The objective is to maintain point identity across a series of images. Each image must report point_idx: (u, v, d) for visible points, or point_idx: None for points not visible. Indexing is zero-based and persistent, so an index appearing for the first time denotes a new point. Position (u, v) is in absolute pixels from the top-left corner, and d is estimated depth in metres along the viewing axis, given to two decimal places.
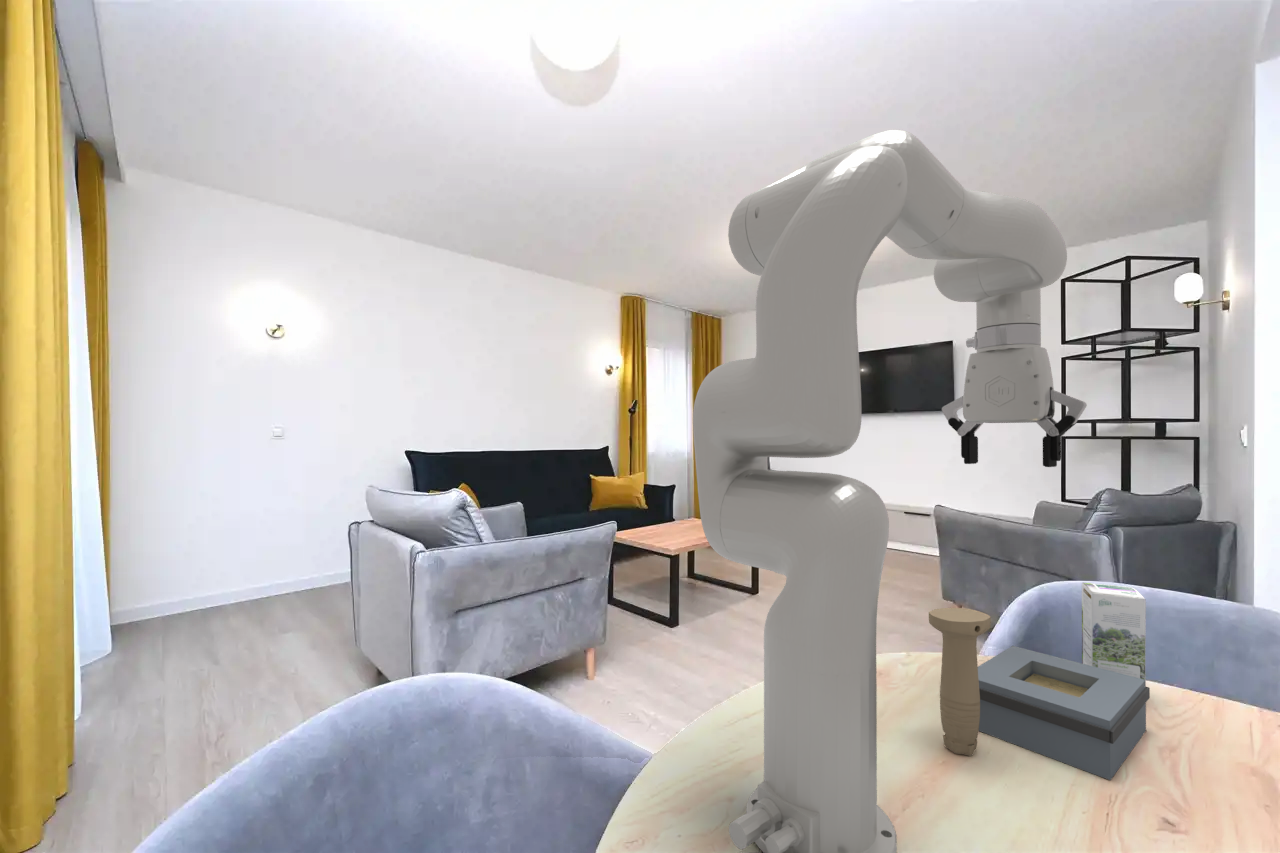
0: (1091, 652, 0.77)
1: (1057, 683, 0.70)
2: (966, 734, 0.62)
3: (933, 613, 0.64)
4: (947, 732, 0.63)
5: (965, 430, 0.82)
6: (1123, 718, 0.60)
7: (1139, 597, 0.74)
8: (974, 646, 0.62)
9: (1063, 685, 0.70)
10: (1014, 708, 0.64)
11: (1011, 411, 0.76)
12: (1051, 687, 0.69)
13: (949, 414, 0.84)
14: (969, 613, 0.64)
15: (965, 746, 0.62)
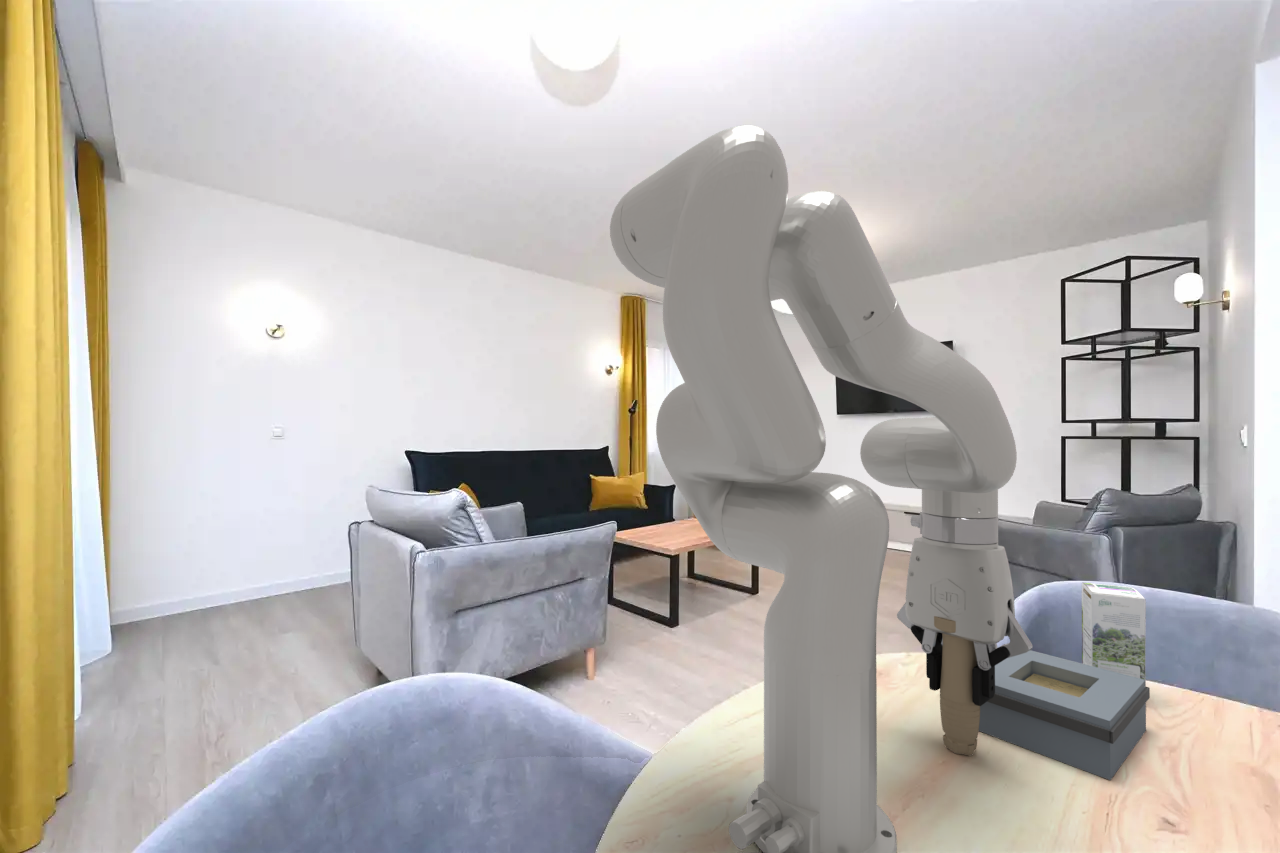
0: (1091, 652, 0.77)
1: (1057, 683, 0.70)
2: (966, 734, 0.62)
3: None
4: (947, 732, 0.63)
5: (929, 644, 0.65)
6: (1123, 718, 0.60)
7: (1139, 597, 0.74)
8: None
9: (1063, 685, 0.70)
10: (1014, 708, 0.64)
11: (961, 626, 0.61)
12: (1051, 687, 0.69)
13: (908, 621, 0.68)
14: None
15: (965, 746, 0.62)
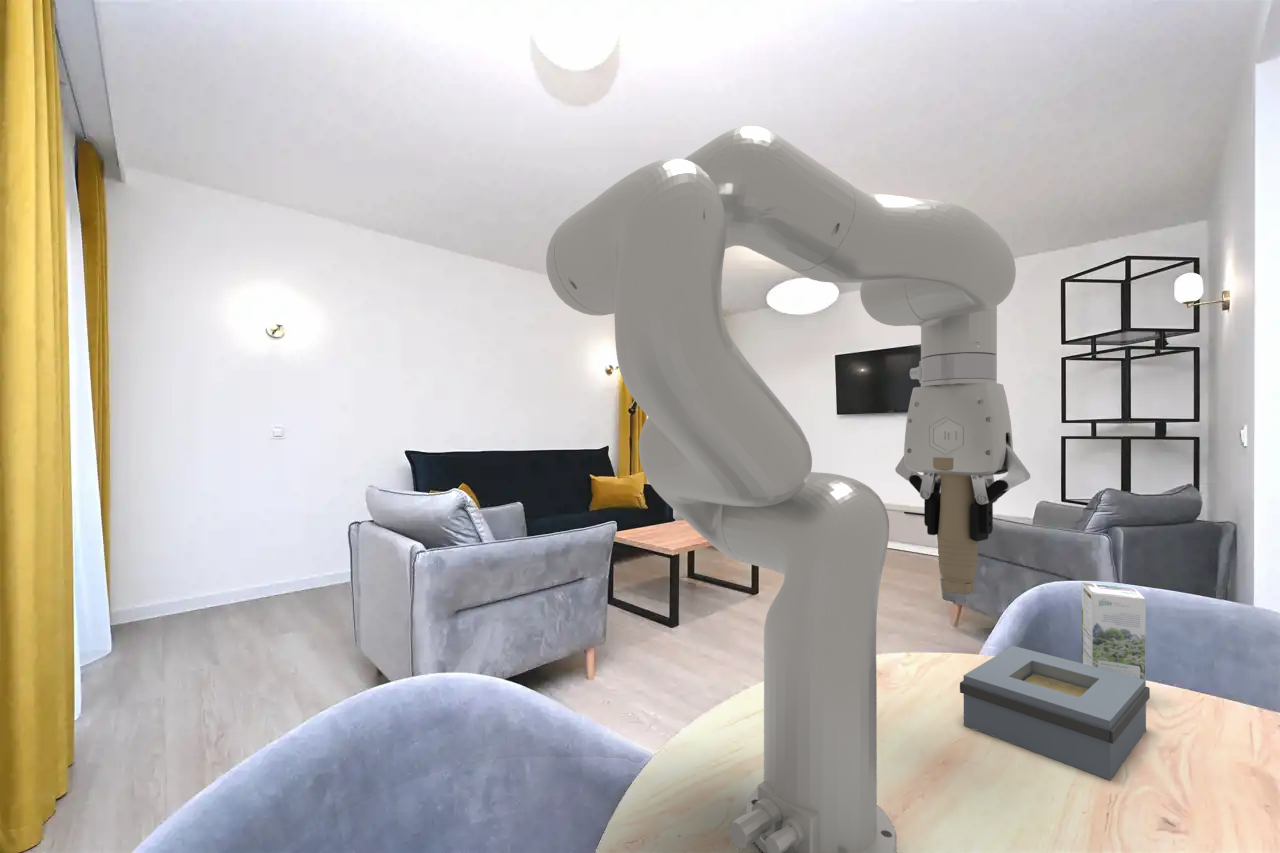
0: (1091, 652, 0.77)
1: (1057, 683, 0.70)
2: (964, 572, 0.62)
3: None
4: (945, 573, 0.63)
5: (928, 490, 0.65)
6: (1123, 718, 0.60)
7: (1139, 597, 0.74)
8: (972, 486, 0.63)
9: (1063, 685, 0.70)
10: (1014, 708, 0.64)
11: (959, 461, 0.61)
12: (1051, 687, 0.69)
13: (906, 473, 0.68)
14: None
15: (963, 585, 0.62)
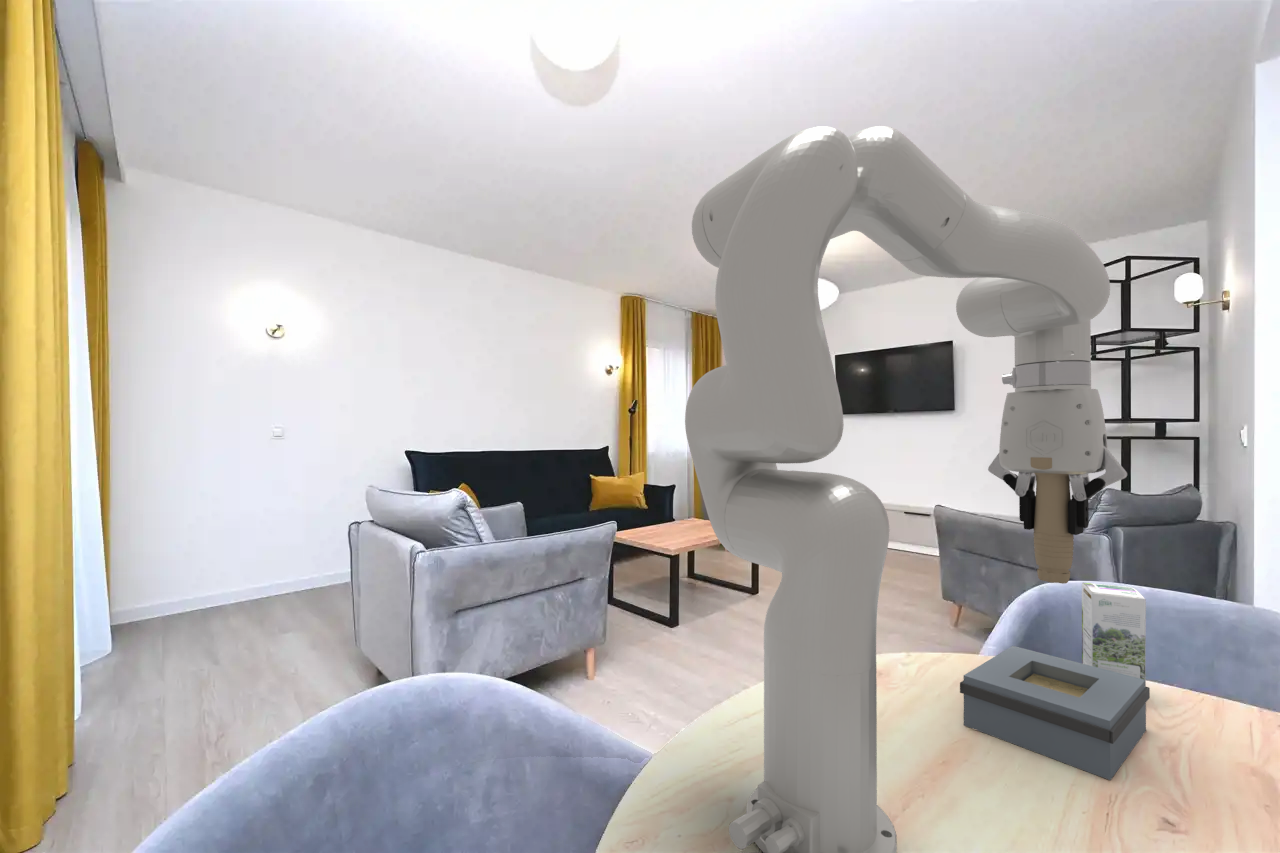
0: (1091, 652, 0.77)
1: (1057, 683, 0.70)
2: (1062, 563, 0.67)
3: None
4: (1042, 564, 0.68)
5: (1023, 488, 0.70)
6: (1123, 718, 0.60)
7: (1139, 597, 0.74)
8: (1068, 483, 0.68)
9: (1063, 685, 0.70)
10: (1014, 708, 0.64)
11: (1058, 461, 0.66)
12: (1051, 687, 0.69)
13: (1000, 472, 0.73)
14: None
15: (1060, 574, 0.67)
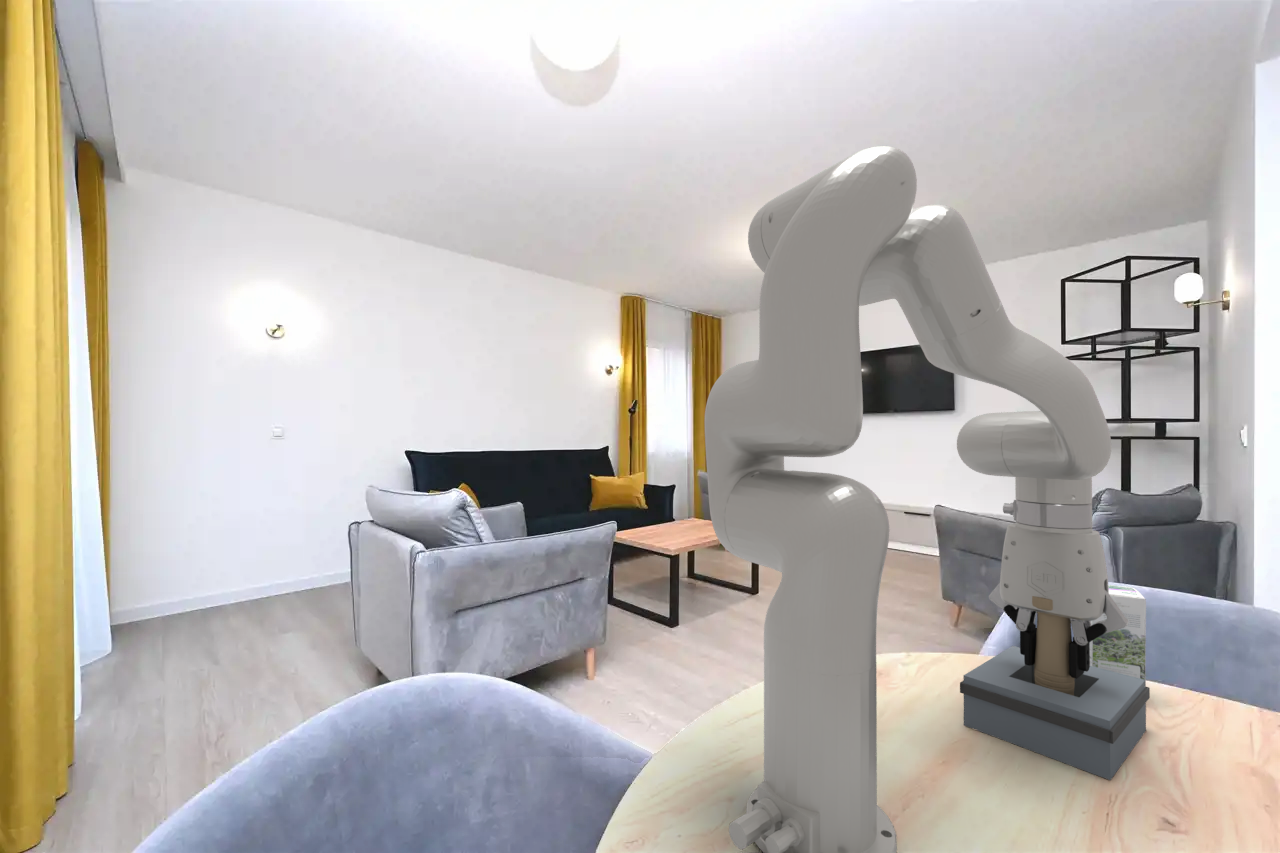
0: (1091, 652, 0.77)
1: None
2: None
3: None
4: None
5: (1024, 623, 0.70)
6: (1123, 718, 0.60)
7: (1139, 597, 0.74)
8: (1069, 623, 0.67)
9: None
10: (1014, 708, 0.64)
11: (1059, 604, 0.66)
12: None
13: (1000, 602, 0.72)
14: None
15: None
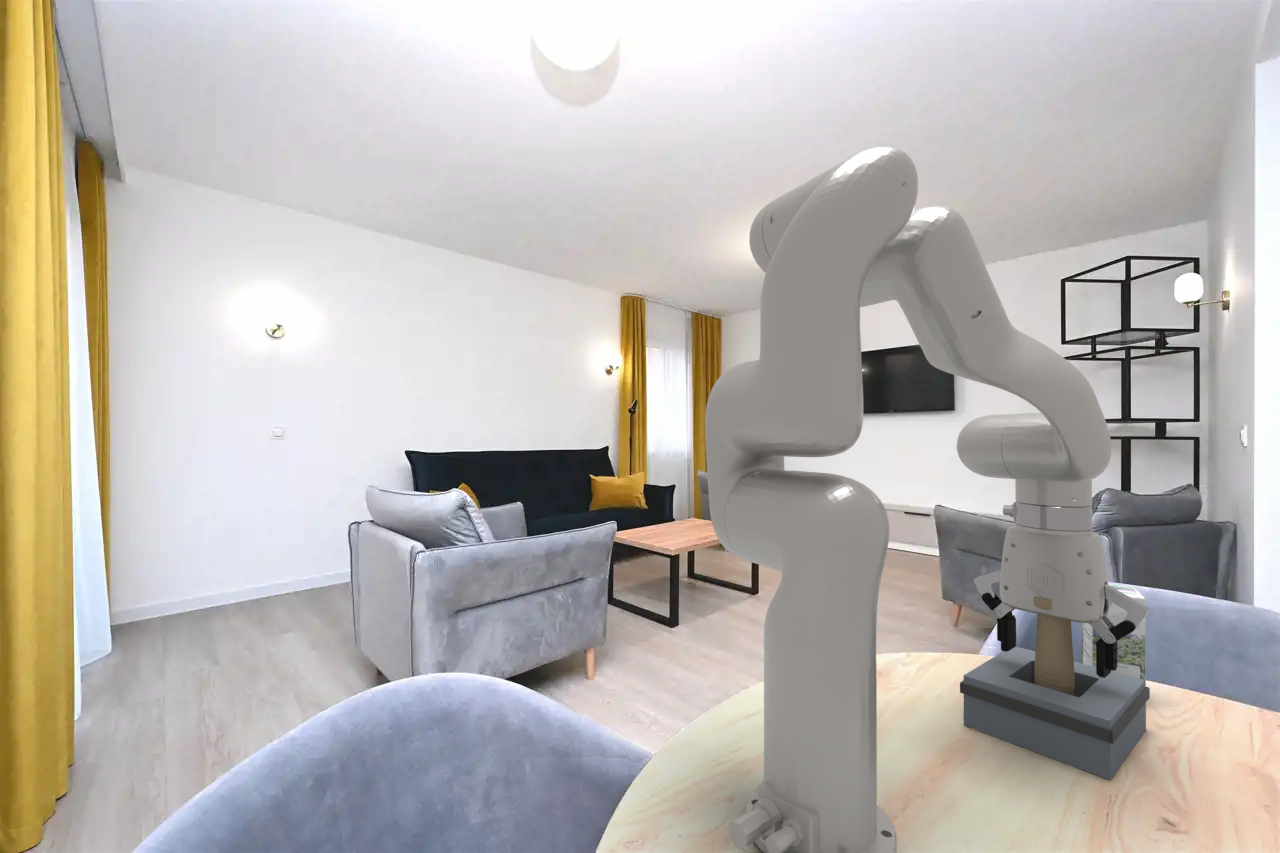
0: (1091, 652, 0.77)
1: None
2: None
3: None
4: None
5: (1002, 612, 0.72)
6: (1123, 718, 0.60)
7: (1139, 597, 0.74)
8: (1069, 623, 0.67)
9: None
10: (1014, 708, 0.64)
11: (1058, 607, 0.66)
12: None
13: (983, 588, 0.74)
14: None
15: None
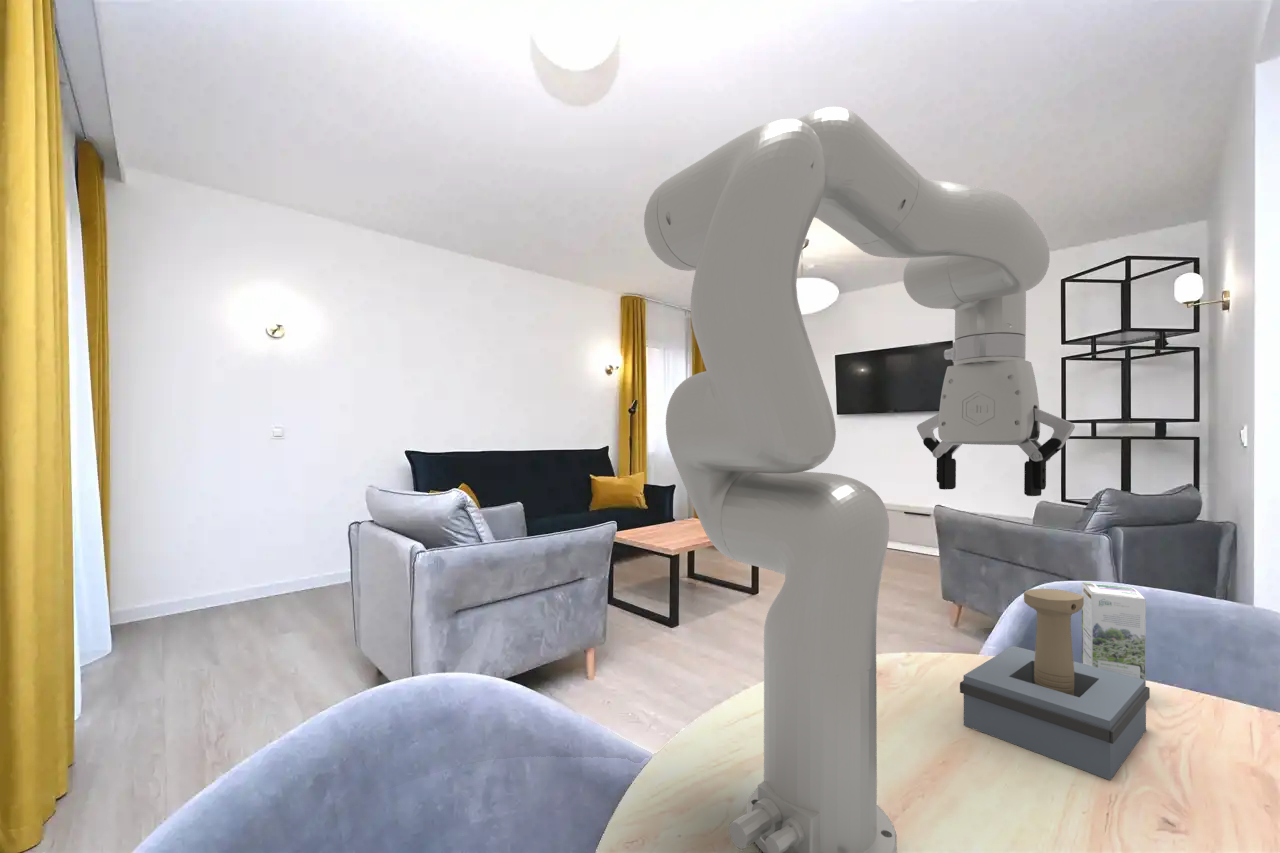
0: (1091, 652, 0.77)
1: None
2: None
3: (1028, 593, 0.69)
4: None
5: (941, 451, 0.73)
6: (1123, 718, 0.60)
7: (1139, 597, 0.74)
8: (1069, 623, 0.67)
9: None
10: (1014, 708, 0.64)
11: (990, 431, 0.67)
12: None
13: (924, 433, 0.76)
14: (1061, 593, 0.69)
15: None
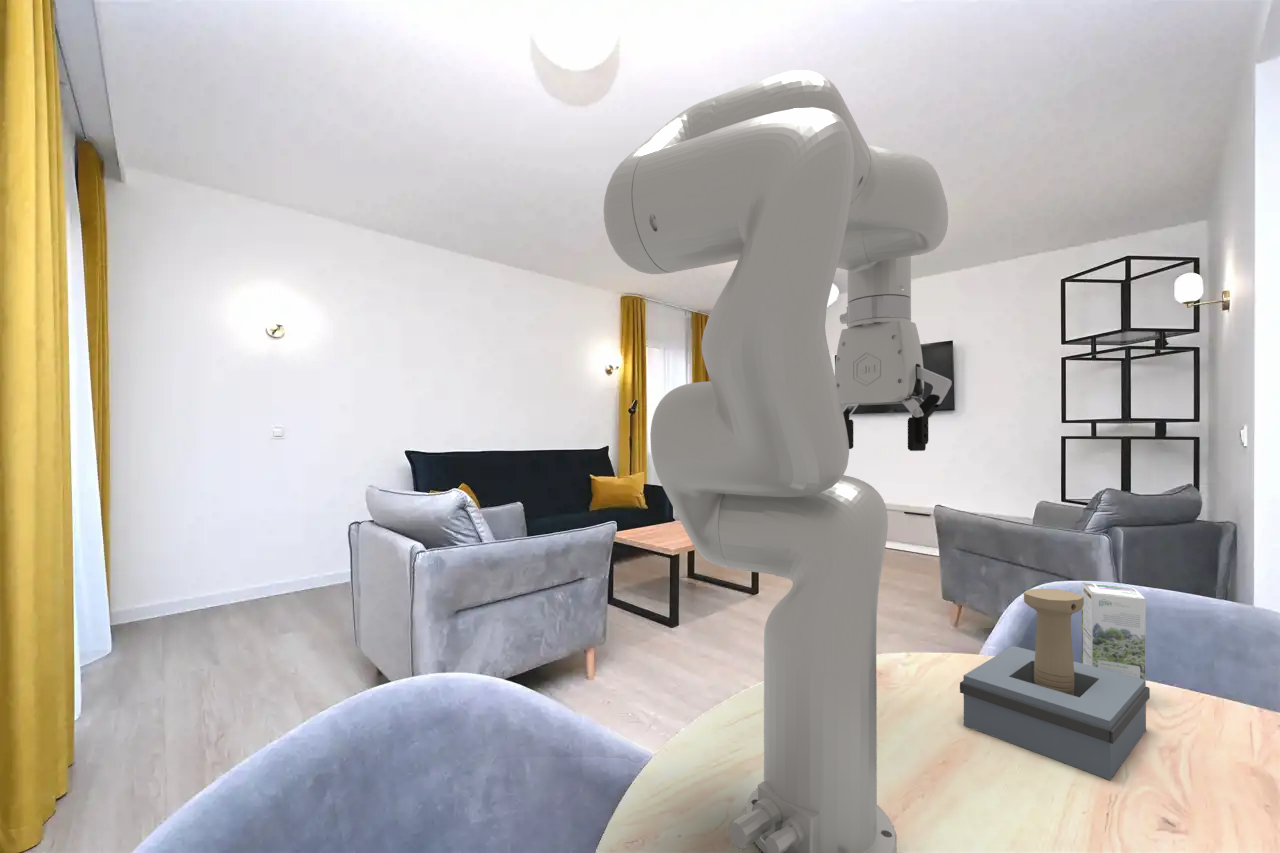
0: (1091, 652, 0.77)
1: None
2: None
3: (1028, 593, 0.69)
4: None
5: None
6: (1123, 718, 0.60)
7: (1139, 597, 0.74)
8: (1069, 623, 0.67)
9: None
10: (1014, 708, 0.64)
11: (877, 391, 0.70)
12: None
13: None
14: (1061, 593, 0.69)
15: None
